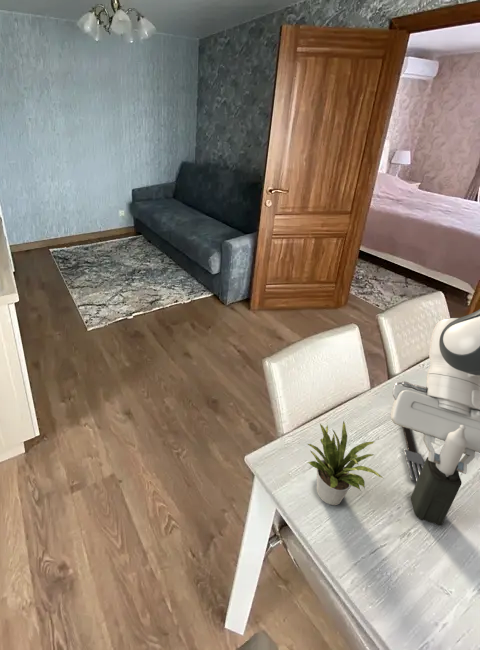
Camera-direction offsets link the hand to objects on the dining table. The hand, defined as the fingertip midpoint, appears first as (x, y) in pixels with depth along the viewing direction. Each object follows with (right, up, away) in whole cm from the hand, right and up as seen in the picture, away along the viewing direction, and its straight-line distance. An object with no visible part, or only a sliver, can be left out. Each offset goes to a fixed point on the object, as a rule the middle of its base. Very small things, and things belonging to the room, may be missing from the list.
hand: (446, 467), depth 68 cm
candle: (0, -13, +6) cm, 15 cm away
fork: (+6, -8, +19) cm, 21 cm away
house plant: (-18, -12, +9) cm, 23 cm away
